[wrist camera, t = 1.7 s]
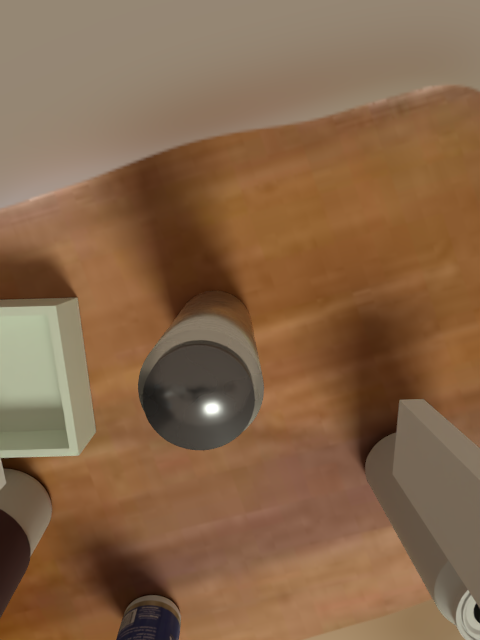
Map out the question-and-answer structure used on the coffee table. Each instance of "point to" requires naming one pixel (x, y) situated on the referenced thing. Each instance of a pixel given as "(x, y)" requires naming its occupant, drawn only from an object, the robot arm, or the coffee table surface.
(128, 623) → the pill bottle
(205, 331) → the shaker
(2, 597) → the coffee cup
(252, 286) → the coffee table surface
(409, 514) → the beverage can
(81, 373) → the tray
